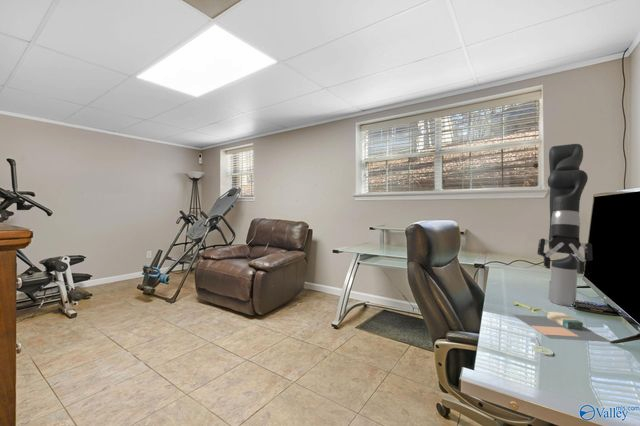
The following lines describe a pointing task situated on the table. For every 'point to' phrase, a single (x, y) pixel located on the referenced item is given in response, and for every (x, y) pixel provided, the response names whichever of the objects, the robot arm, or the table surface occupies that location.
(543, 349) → the sign
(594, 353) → the table surface
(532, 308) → the key
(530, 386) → the table surface
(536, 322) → the mat
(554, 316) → the tile
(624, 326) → the table surface
